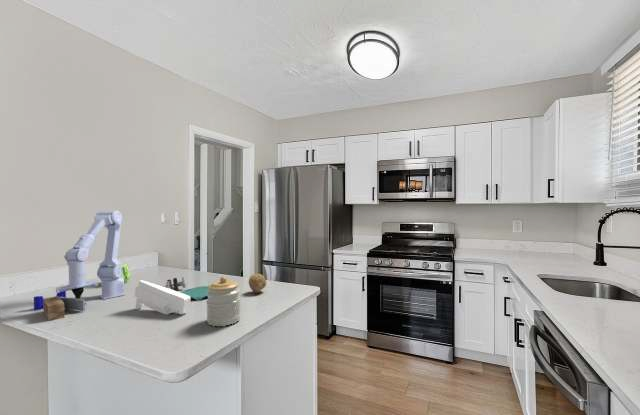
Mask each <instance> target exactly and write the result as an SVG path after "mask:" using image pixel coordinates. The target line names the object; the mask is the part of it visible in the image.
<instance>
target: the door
mask: <svg viewBox="0 0 640 415" xmlns="http://www.w3.org/2000/svg"><path fill="white" fill-rule="evenodd" d="M59 298H60V299H61V300H62V301H63V302H64V310H65V309H66V310H73V311H80V312H81V311H82V312H85V311H86V305H87V302H86V300H85V299H82V298H80V299H76V297H75V298H74V297H73V298H72V297H67V296H66V297H59Z"/></svg>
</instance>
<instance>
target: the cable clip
mask: <svg viewBox="0 0 640 415" xmlns="http://www.w3.org/2000/svg"><path fill="white" fill-rule="evenodd" d="M55 296H58V297H66V298H67V291H63V292H60V293H56V295H55ZM43 299H44V296H43V295H42V296H41V295H36V296H33V311H40V310H43Z"/></svg>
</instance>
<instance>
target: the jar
mask: <svg viewBox="0 0 640 415" xmlns="http://www.w3.org/2000/svg"><path fill="white" fill-rule="evenodd" d="M208 286H209V287H208V288H209V291H207V293H206V295H207V296H208V297H207V300H206V301H205V303H206V321H207V322H206V323H207V325H208V326H210V325H212V326H211V327H215V326H222V327H227V326H226V325H229V326H231V325H230V324H232V325H234V324H233V323H235V324H236V322H237V321H238V322H240V321H241V316H242V313H241V296H240V293H241V289H240V287H239V283H238V282H236V281H234V280H232V279H227V277H226V276H221V277H220V279H219V280H217V281H213V282H212V283H211V284H210V285H208ZM238 322H237V323H238Z"/></svg>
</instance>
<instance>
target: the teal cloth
mask: <svg viewBox="0 0 640 415" xmlns="http://www.w3.org/2000/svg"><path fill="white" fill-rule="evenodd" d="M209 286H210V285H205V286H195V287H192V288H188V289H185V290H183V291H182V290H181V291H179V292H180V293H183V294H186V295H188V296H190V297H191V300H195V301H197V300H200V301H202V299H204V298H208V296H207V295H206V293H207V291H209V288H208V287H209Z"/></svg>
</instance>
